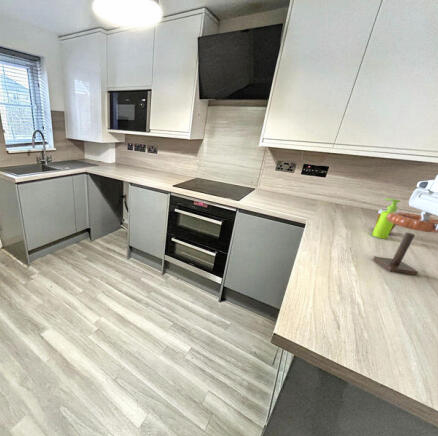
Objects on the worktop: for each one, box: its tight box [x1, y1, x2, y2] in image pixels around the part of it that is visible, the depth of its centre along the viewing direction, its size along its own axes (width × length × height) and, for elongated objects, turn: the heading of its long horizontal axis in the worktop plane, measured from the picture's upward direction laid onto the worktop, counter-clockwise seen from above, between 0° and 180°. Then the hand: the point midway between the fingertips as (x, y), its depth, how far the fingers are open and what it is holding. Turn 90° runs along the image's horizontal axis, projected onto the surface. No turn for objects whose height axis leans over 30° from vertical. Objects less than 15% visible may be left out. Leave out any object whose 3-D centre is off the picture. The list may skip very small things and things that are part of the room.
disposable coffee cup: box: [374, 208, 399, 235], centre depth 127 cm, size 10×10×12 cm
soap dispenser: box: [371, 198, 401, 240], centre depth 119 cm, size 6×7×20 cm
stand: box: [372, 232, 419, 276], centre depth 91 cm, size 9×9×14 cm
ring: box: [387, 211, 438, 234], centre depth 87 cm, size 15×15×4 cm
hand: (430, 227), depth 81 cm, fingers closed on ring, 3 cm apart
